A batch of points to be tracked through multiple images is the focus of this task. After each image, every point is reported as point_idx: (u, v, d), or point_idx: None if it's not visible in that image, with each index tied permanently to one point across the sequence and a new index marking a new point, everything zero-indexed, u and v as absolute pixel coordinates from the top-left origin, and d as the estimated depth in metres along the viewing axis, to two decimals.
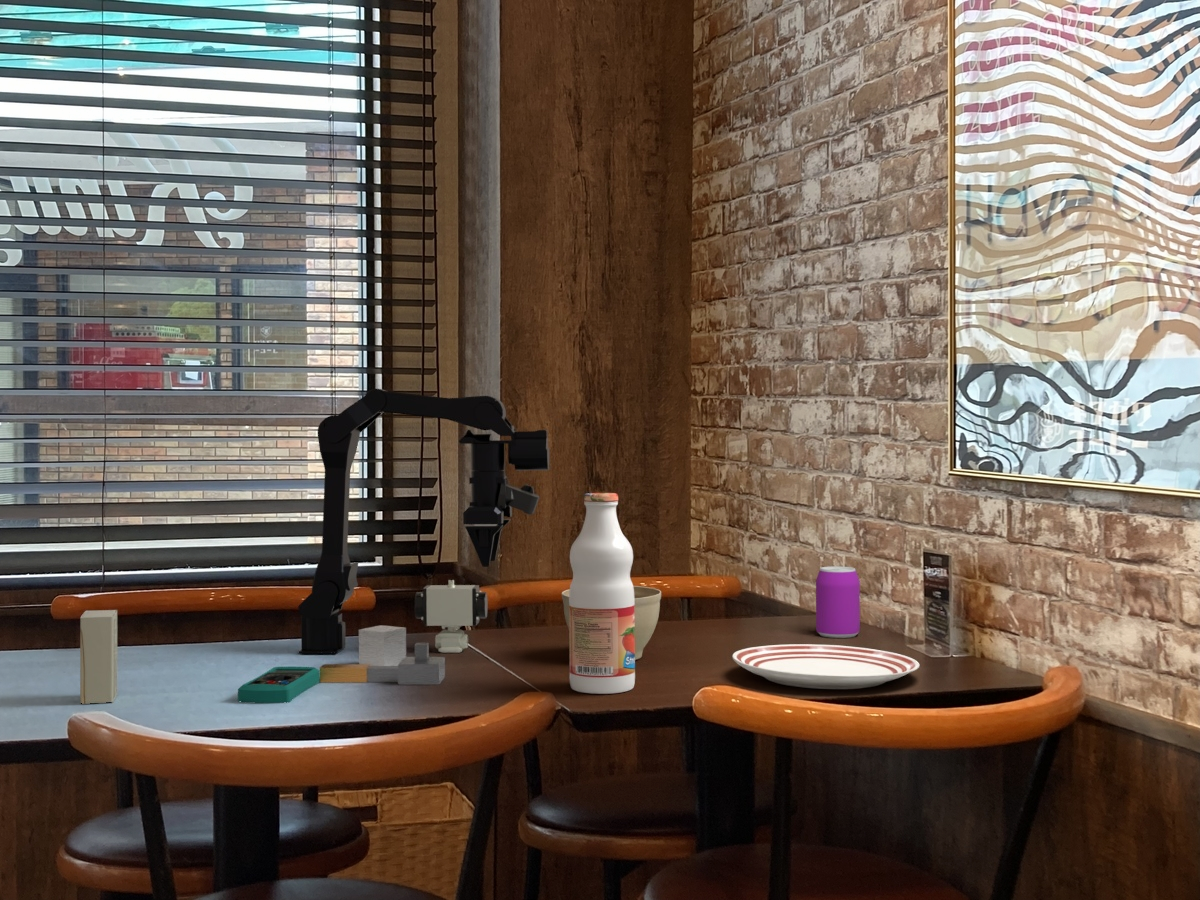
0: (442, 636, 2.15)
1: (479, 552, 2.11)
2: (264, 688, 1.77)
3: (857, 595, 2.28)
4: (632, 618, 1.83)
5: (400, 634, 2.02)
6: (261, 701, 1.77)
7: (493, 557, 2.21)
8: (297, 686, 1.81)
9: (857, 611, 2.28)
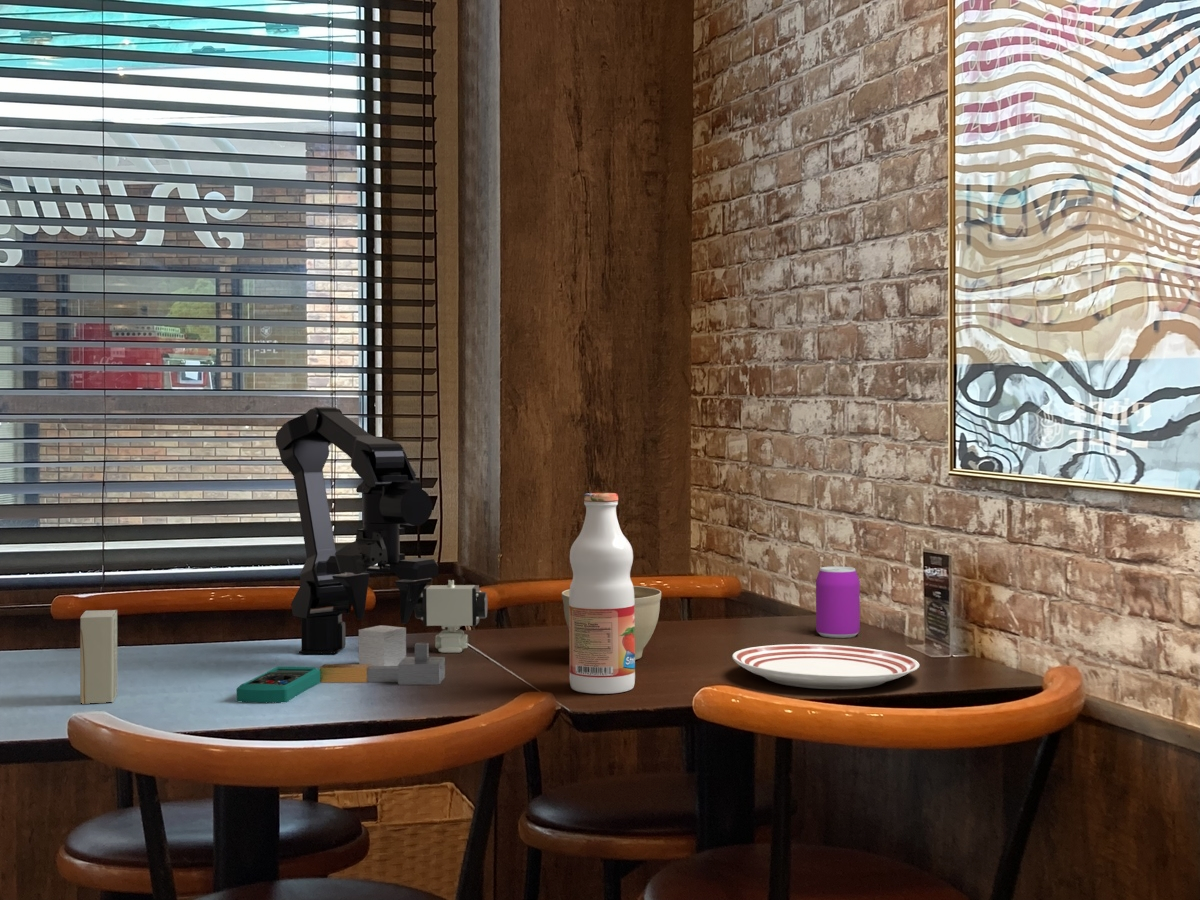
0: (442, 636, 2.15)
1: None
2: (263, 687, 1.77)
3: (857, 595, 2.28)
4: (632, 618, 1.83)
5: (400, 634, 2.02)
6: (259, 701, 1.77)
7: None
8: (296, 686, 1.81)
9: (857, 611, 2.28)
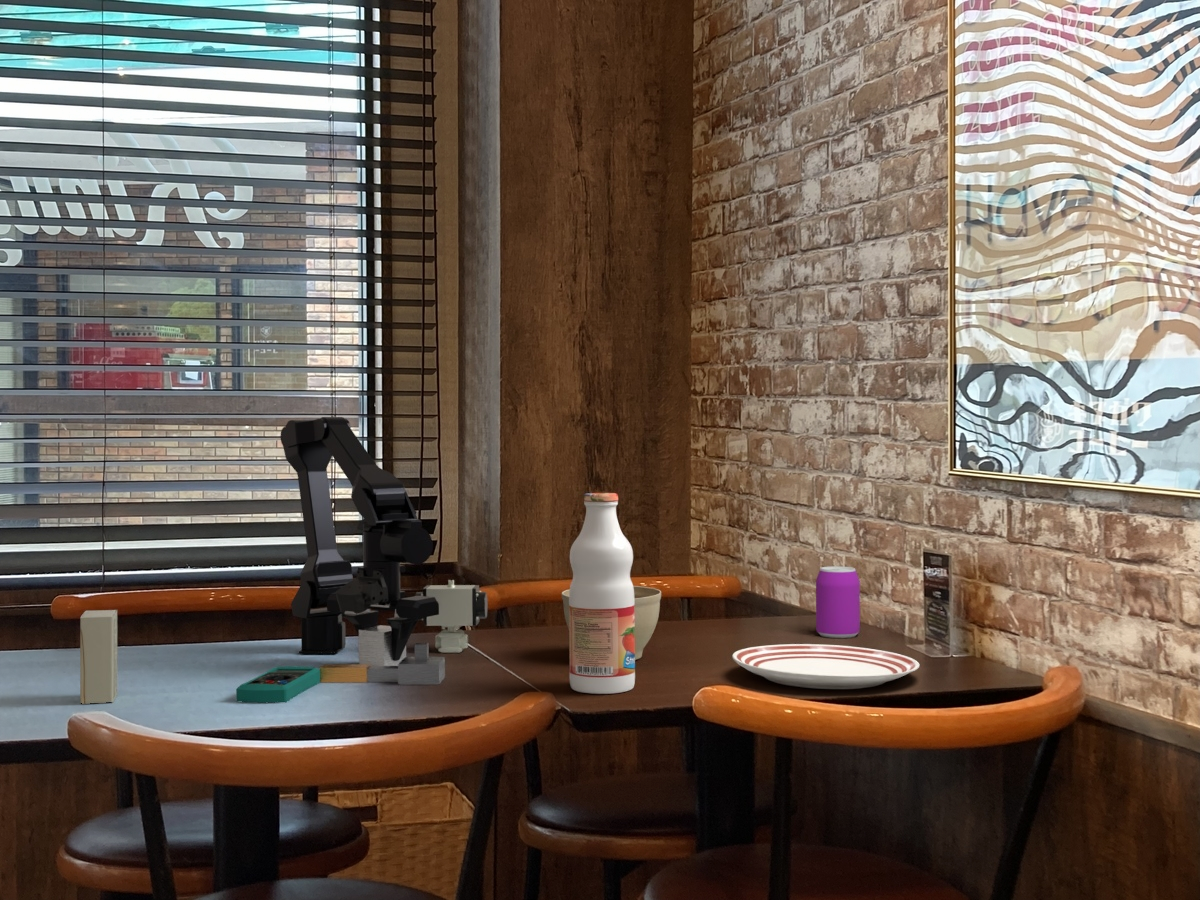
0: (442, 636, 2.15)
1: None
2: (262, 687, 1.77)
3: (857, 595, 2.28)
4: (632, 618, 1.83)
5: None
6: (259, 701, 1.77)
7: None
8: (296, 686, 1.81)
9: (857, 611, 2.28)
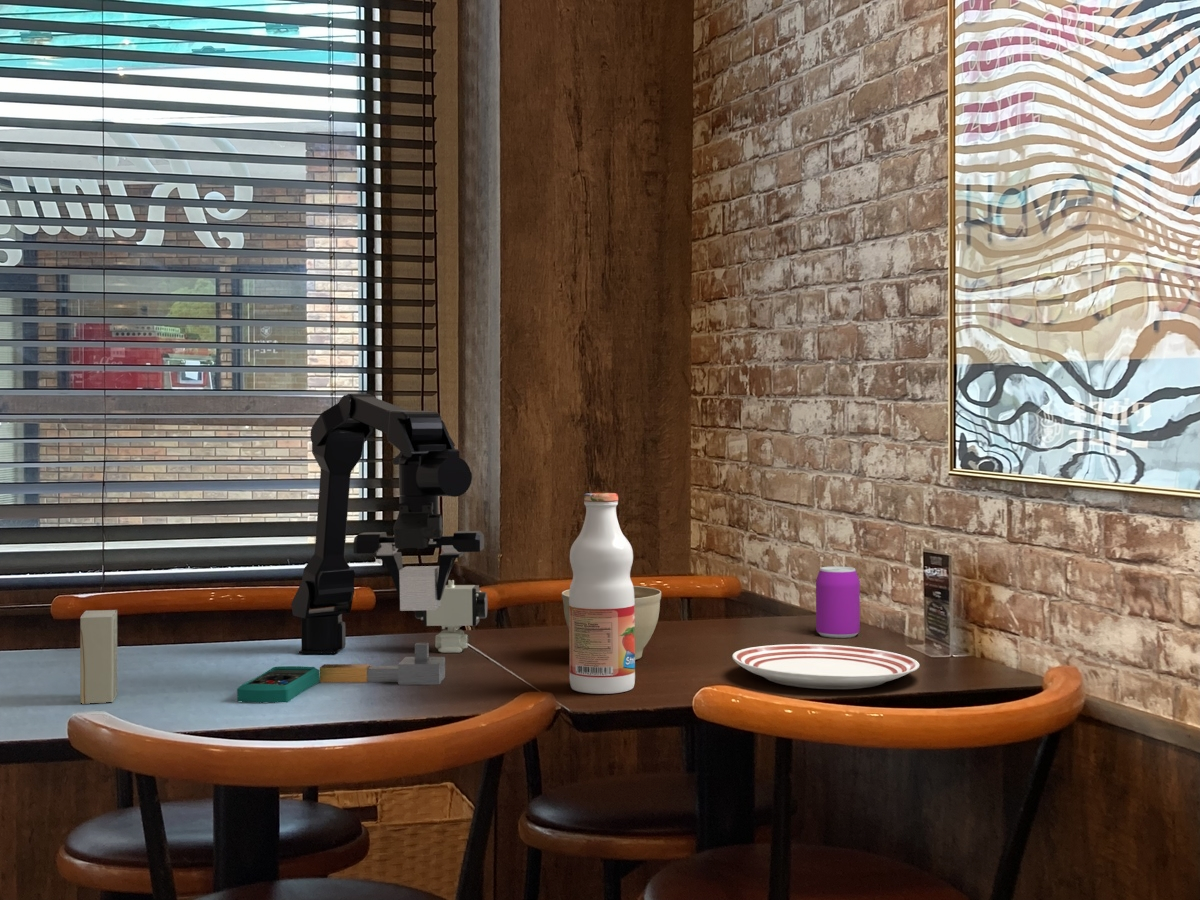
0: (442, 636, 2.15)
1: None
2: (264, 688, 1.77)
3: (857, 595, 2.28)
4: (632, 618, 1.83)
5: (438, 572, 1.93)
6: (260, 701, 1.77)
7: None
8: (297, 686, 1.81)
9: (857, 611, 2.28)
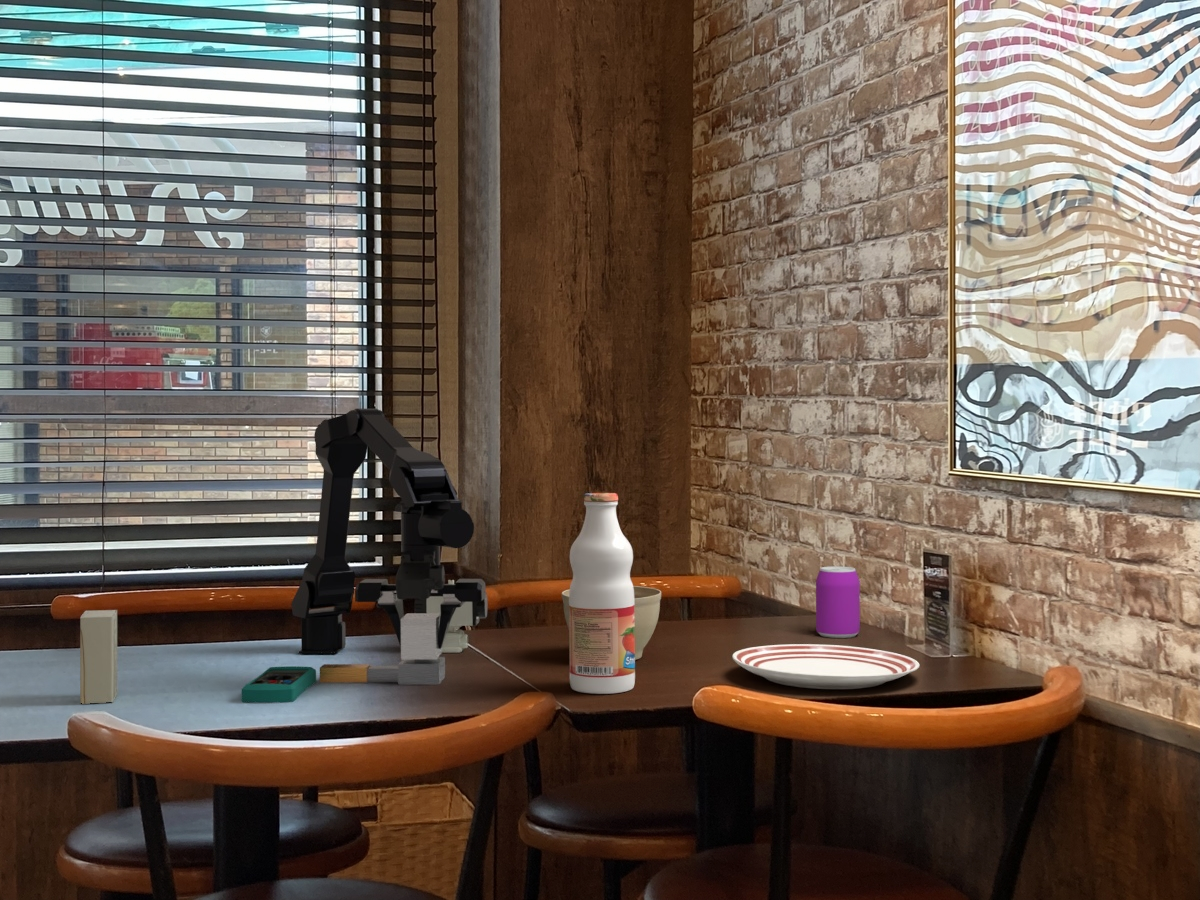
0: None
1: None
2: (269, 687, 1.77)
3: (857, 595, 2.28)
4: (632, 618, 1.83)
5: (439, 620, 1.93)
6: (266, 700, 1.77)
7: None
8: (300, 685, 1.82)
9: (857, 611, 2.28)
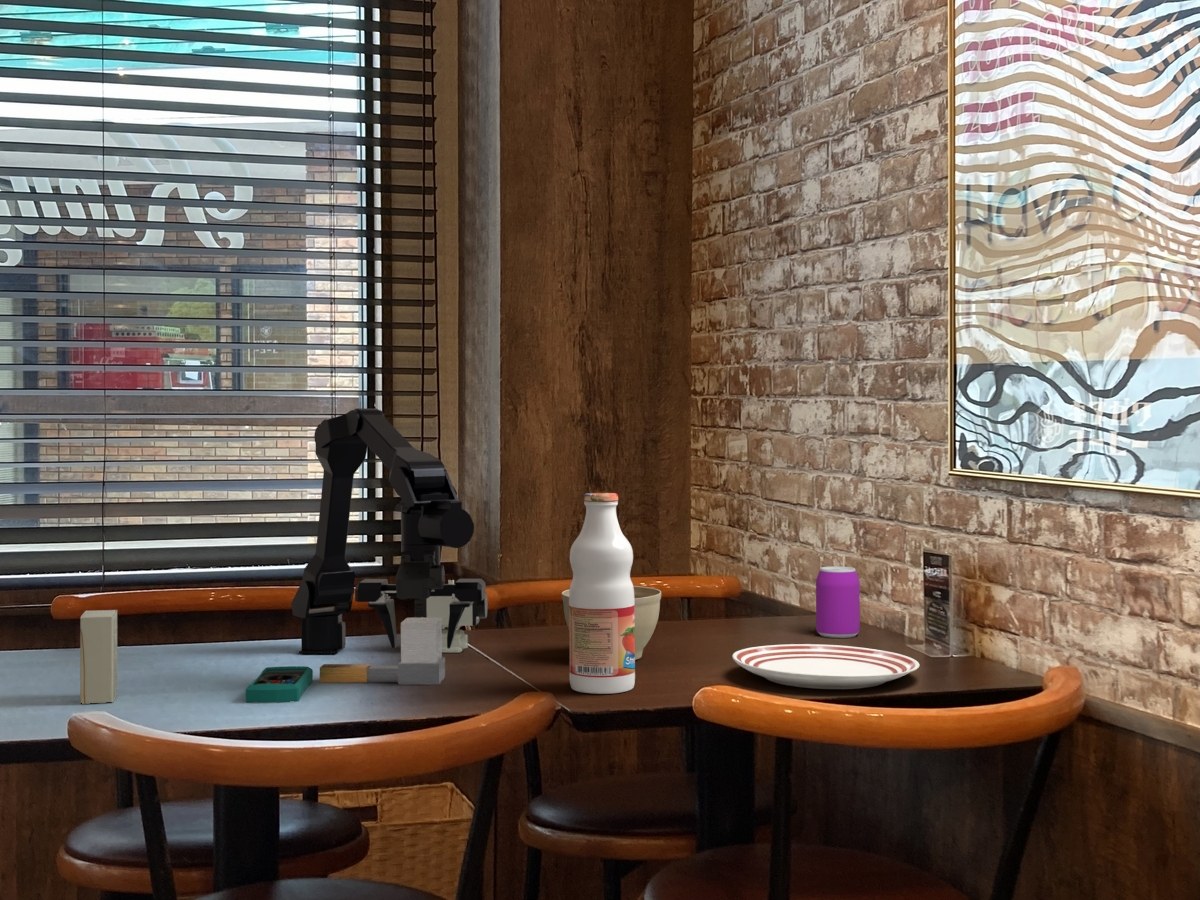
0: (442, 636, 2.15)
1: None
2: (274, 687, 1.77)
3: (857, 595, 2.28)
4: (632, 618, 1.83)
5: (440, 624, 1.93)
6: (271, 700, 1.77)
7: None
8: (302, 685, 1.82)
9: (857, 611, 2.28)
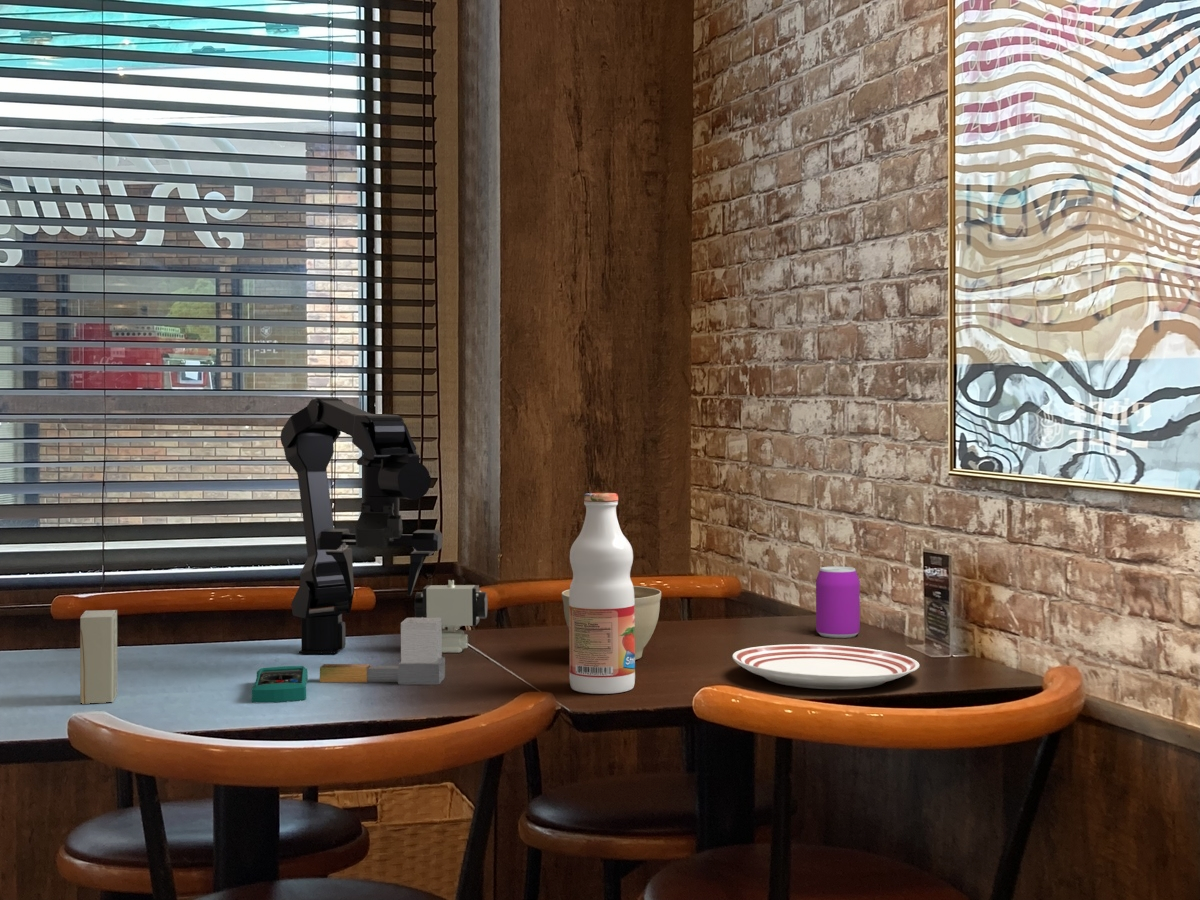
0: (442, 636, 2.15)
1: None
2: (281, 686, 1.77)
3: (857, 595, 2.28)
4: (632, 618, 1.83)
5: (440, 624, 1.93)
6: (279, 700, 1.77)
7: (408, 591, 2.01)
8: None
9: (857, 611, 2.28)
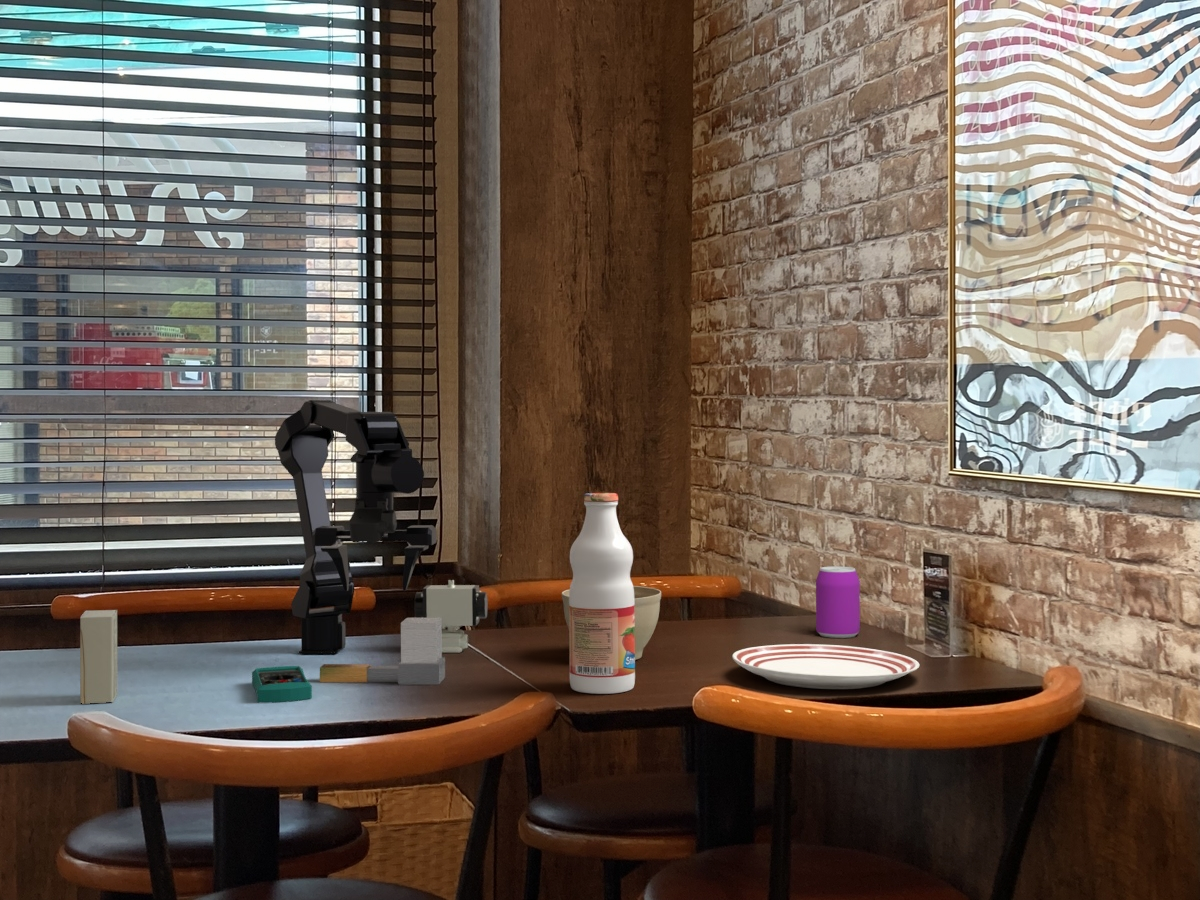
0: (442, 636, 2.15)
1: None
2: (288, 686, 1.78)
3: (857, 595, 2.28)
4: (632, 618, 1.83)
5: (440, 624, 1.93)
6: (285, 699, 1.77)
7: (403, 586, 2.02)
8: None
9: (857, 611, 2.28)
